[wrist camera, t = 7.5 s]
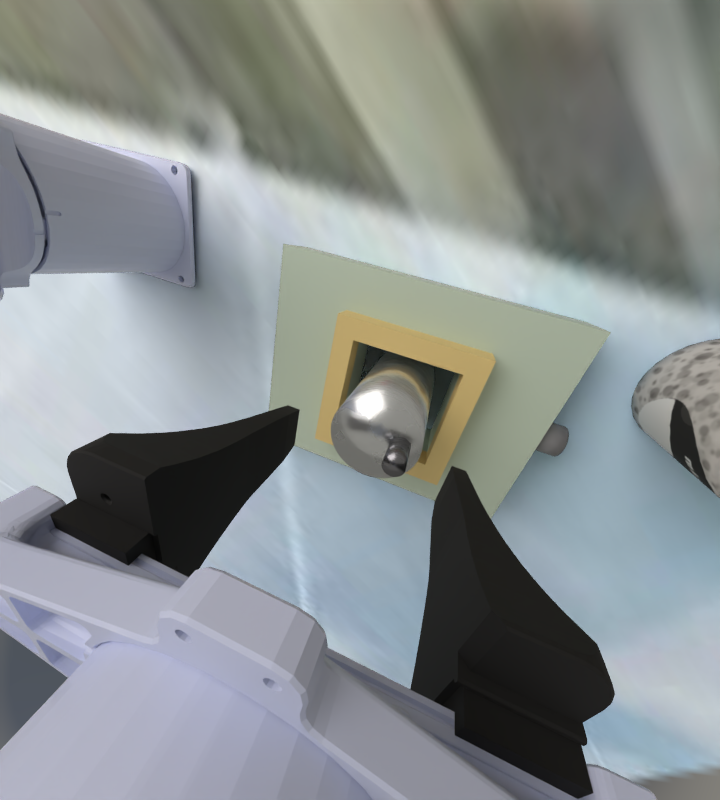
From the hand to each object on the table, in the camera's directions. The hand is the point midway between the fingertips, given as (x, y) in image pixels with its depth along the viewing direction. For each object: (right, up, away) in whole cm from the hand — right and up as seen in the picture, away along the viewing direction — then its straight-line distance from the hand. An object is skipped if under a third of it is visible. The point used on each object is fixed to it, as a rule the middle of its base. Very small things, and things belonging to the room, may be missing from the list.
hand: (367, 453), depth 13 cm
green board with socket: (+3, +4, +9) cm, 10 cm away
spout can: (+3, +4, +8) cm, 10 cm away
